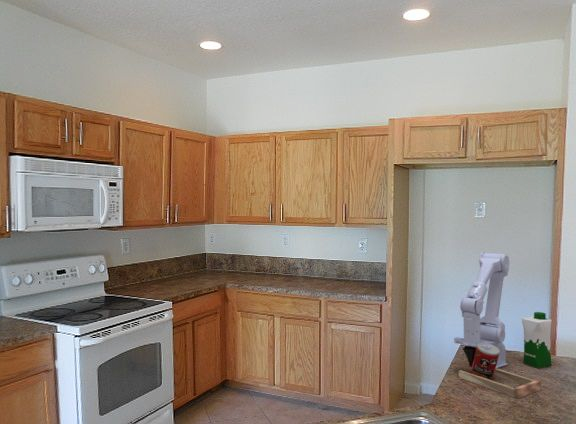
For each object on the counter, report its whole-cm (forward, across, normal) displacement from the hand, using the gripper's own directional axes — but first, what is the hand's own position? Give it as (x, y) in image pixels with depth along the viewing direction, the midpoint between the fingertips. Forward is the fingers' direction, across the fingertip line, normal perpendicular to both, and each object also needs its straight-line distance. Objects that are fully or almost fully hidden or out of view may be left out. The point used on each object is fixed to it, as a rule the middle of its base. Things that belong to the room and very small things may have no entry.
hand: (472, 366), depth 169 cm
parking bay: (+3, +10, 0) cm, 10 cm away
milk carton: (+3, +7, +30) cm, 31 cm away
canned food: (+2, +4, 0) cm, 4 cm away
